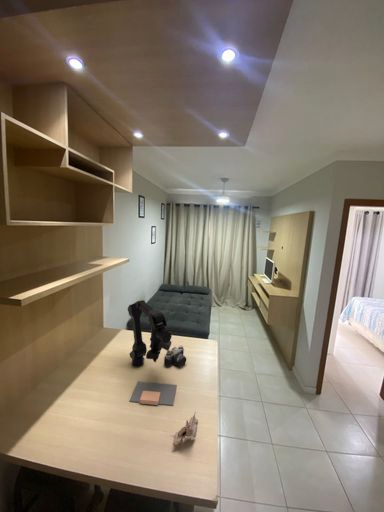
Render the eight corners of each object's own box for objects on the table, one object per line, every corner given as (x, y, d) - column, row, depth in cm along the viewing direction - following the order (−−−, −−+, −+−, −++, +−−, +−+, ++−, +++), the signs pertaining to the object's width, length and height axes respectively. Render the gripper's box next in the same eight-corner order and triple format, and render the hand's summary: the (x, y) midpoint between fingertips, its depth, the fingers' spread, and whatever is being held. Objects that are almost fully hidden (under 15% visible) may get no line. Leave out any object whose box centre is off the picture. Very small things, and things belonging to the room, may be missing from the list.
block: (143, 394, 113) (139, 403, 107) (143, 390, 113) (139, 399, 107) (160, 395, 113) (157, 405, 107) (160, 392, 112) (158, 401, 106)
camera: (173, 373, 132) (174, 358, 131) (162, 365, 139) (162, 350, 137) (190, 362, 143) (191, 348, 142) (179, 356, 150) (180, 342, 149)
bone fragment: (187, 420, 102) (200, 405, 100) (197, 435, 98) (211, 421, 96) (167, 436, 89) (182, 419, 87) (178, 454, 85) (193, 438, 83)
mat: (129, 401, 108) (129, 400, 108) (137, 382, 122) (137, 381, 122) (173, 405, 107) (173, 404, 107) (176, 385, 121) (176, 384, 121)
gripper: (167, 345, 111) (166, 373, 113) (173, 328, 129) (171, 353, 131) (146, 343, 111) (145, 371, 113) (154, 327, 130) (153, 352, 132)
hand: (155, 361), depth 122 cm, fingers closed
